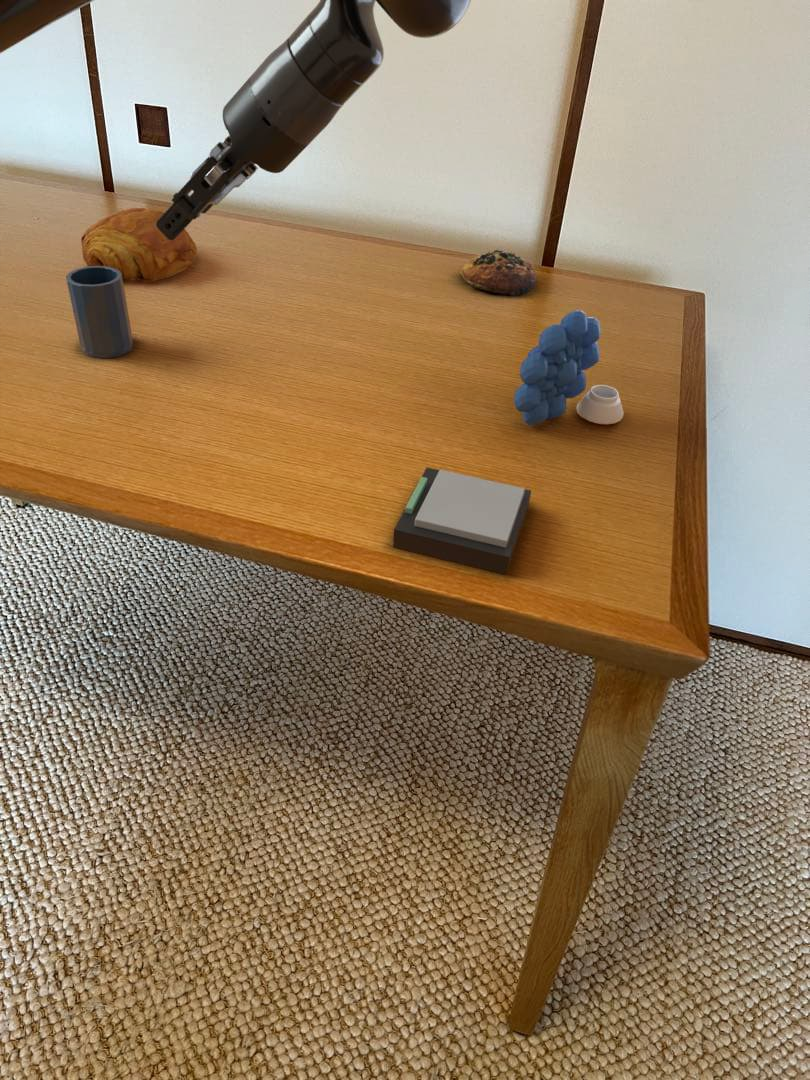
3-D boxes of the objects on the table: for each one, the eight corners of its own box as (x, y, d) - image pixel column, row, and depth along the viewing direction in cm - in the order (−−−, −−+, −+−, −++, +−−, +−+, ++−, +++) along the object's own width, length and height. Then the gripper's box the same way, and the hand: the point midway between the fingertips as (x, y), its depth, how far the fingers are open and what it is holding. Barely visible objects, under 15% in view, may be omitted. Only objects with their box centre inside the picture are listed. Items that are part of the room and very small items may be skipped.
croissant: (71, 283, 113) (51, 227, 108) (147, 237, 122) (132, 183, 117) (148, 306, 108) (132, 249, 102) (222, 256, 117) (211, 201, 111)
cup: (84, 361, 92) (68, 288, 87) (78, 339, 96) (63, 268, 91) (136, 354, 94) (125, 283, 89) (129, 333, 98) (117, 263, 93)
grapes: (555, 387, 94) (575, 286, 86) (600, 412, 90) (625, 309, 82) (483, 417, 88) (497, 311, 80) (528, 445, 84) (548, 337, 76)
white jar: (570, 419, 88) (614, 432, 87) (575, 395, 86) (621, 408, 85) (583, 399, 92) (626, 411, 90) (589, 376, 90) (633, 388, 88)
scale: (392, 547, 70) (394, 521, 68) (424, 484, 77) (427, 459, 76) (506, 575, 68) (511, 549, 66) (528, 507, 75) (532, 483, 74)
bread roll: (517, 301, 111) (518, 264, 109) (446, 292, 116) (446, 256, 114) (549, 281, 119) (552, 245, 116) (482, 272, 124) (482, 238, 121)
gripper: (278, 58, 79) (180, 170, 88) (228, 86, 68) (121, 210, 77) (331, 124, 82) (231, 225, 91) (290, 160, 71) (181, 272, 80)
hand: (180, 218), depth 84 cm, fingers open, 8 cm apart
